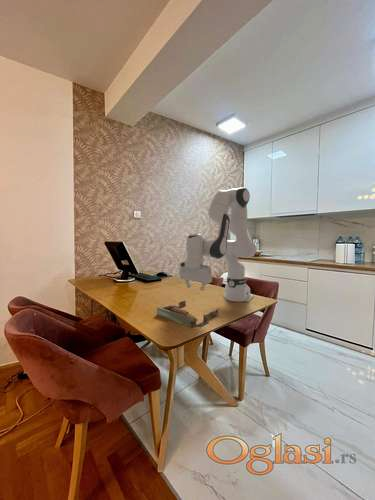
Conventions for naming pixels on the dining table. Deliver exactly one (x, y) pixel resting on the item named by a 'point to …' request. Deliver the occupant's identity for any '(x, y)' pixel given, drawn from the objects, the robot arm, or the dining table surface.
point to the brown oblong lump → (181, 312)
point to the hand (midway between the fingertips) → (195, 288)
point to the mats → (198, 324)
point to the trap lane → (181, 318)
